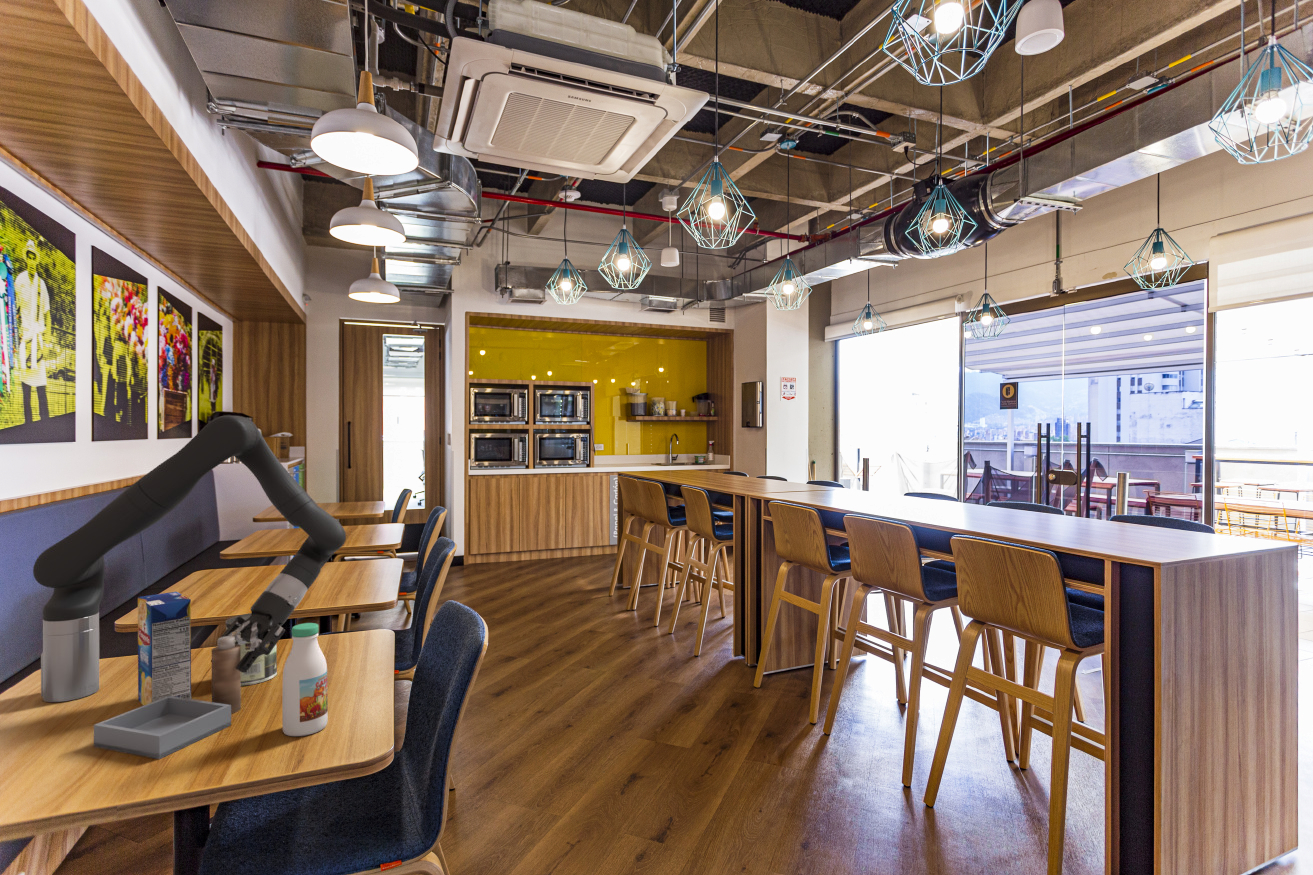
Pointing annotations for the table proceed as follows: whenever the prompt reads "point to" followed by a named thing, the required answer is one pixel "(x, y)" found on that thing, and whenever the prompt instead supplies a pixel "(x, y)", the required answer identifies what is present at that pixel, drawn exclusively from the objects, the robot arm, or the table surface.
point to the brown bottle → (226, 673)
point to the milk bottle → (305, 684)
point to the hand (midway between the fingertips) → (227, 667)
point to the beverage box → (164, 647)
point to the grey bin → (162, 726)
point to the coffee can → (256, 661)
